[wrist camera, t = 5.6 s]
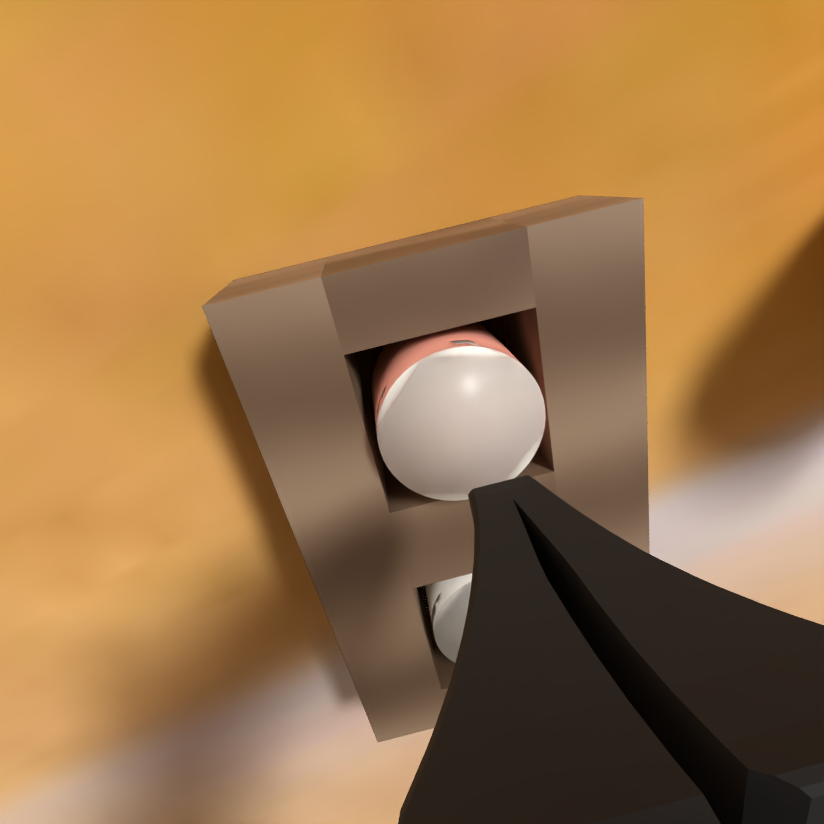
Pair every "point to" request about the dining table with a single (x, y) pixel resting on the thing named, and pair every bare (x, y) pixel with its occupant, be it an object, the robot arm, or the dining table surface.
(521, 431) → the plunger
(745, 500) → the dining table surface
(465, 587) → the white domed canister
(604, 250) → the housing
